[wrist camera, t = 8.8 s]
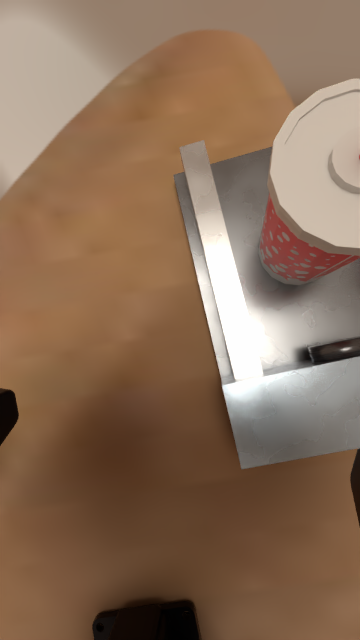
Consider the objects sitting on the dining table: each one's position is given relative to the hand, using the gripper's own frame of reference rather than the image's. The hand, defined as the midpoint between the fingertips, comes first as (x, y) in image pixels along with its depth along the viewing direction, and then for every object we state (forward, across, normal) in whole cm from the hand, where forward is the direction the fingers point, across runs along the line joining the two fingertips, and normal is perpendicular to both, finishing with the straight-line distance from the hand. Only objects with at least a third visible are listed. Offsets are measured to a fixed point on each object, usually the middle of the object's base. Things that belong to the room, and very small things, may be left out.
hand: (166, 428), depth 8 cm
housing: (+15, -5, -1) cm, 16 cm away
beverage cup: (+14, -5, -3) cm, 16 cm away
